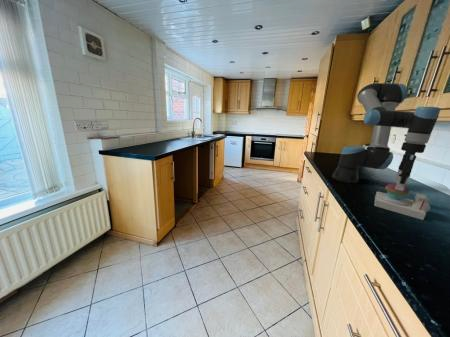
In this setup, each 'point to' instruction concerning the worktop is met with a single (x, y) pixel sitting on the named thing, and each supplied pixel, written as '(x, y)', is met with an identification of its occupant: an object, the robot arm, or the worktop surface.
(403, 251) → the worktop surface
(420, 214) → the scale
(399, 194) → the cupcake
